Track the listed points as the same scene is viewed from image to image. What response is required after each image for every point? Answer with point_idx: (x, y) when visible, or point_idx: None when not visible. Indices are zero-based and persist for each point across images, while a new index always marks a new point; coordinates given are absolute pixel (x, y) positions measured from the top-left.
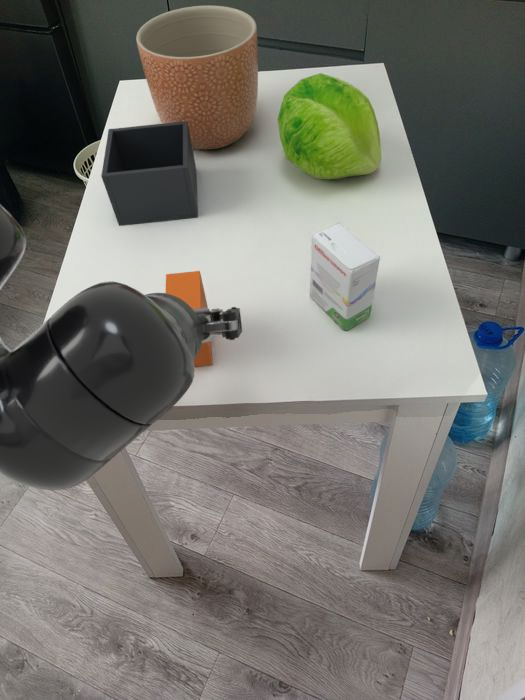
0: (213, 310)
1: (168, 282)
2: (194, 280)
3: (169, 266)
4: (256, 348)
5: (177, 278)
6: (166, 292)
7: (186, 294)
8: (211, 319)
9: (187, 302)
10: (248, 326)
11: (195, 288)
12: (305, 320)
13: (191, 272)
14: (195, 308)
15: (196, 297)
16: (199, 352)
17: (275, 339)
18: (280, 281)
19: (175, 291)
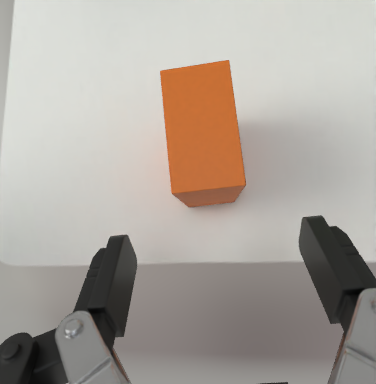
0: (370, 308)
1: (167, 91)
2: (220, 86)
3: (153, 25)
4: (297, 173)
5: (184, 81)
6: (166, 117)
7: (207, 122)
8: (339, 302)
9: (212, 144)
10: (282, 133)
11: (225, 107)
12: (371, 122)
13: (211, 65)
14: (346, 376)
15: (229, 130)
16: (221, 200)
17: (325, 157)
18: (326, 48)
19: (184, 115)
